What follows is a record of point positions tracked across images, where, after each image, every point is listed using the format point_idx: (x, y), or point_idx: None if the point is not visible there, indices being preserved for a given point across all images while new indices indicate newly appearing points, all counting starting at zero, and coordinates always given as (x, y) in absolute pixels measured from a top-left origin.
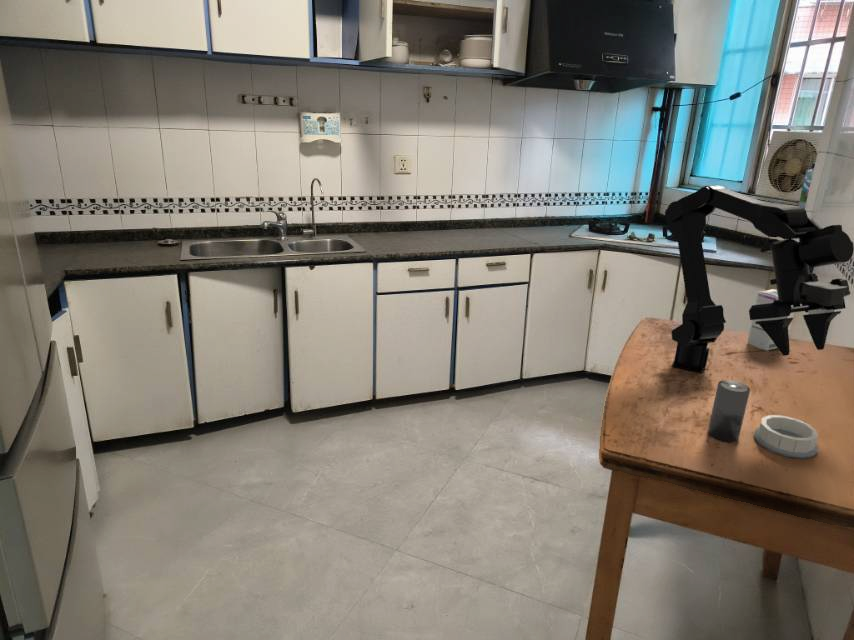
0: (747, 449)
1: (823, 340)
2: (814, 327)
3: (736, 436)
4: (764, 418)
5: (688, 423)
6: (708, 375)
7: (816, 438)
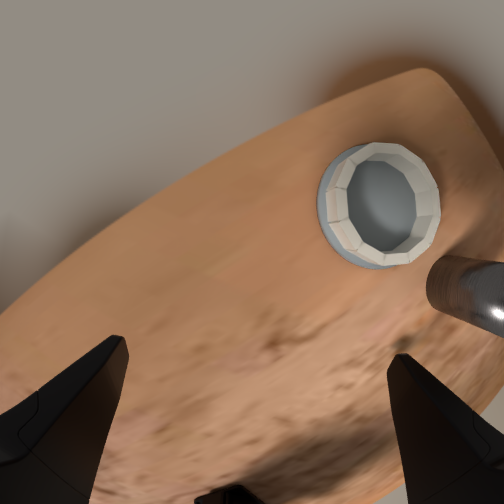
0: (450, 226)
1: (96, 365)
2: (79, 465)
3: (455, 256)
4: (406, 258)
5: (457, 339)
6: (232, 475)
7: (375, 142)
